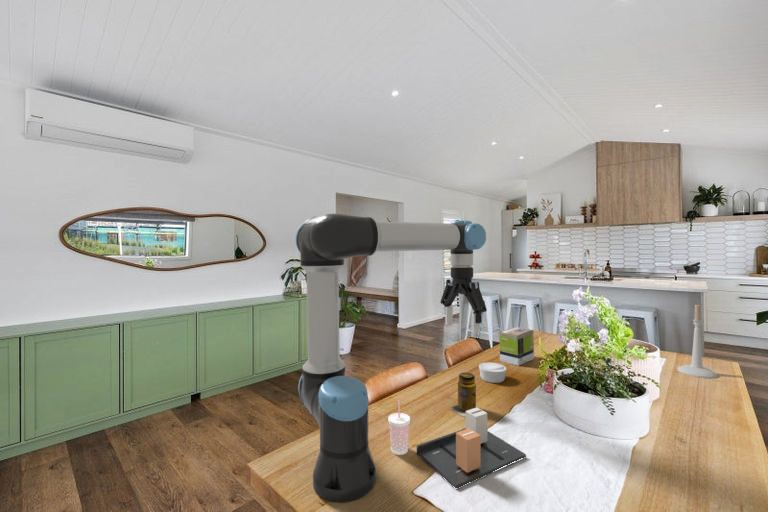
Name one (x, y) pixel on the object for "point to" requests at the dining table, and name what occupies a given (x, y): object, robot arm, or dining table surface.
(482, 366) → the ramekin
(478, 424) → the fader ivory
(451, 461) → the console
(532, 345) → the tea box
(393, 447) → the beverage cup
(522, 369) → the dining table surface
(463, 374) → the condiment
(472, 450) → the fader terracotta
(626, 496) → the dining table surface
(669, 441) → the dining table surface
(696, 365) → the candlestick
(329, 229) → the robot arm
